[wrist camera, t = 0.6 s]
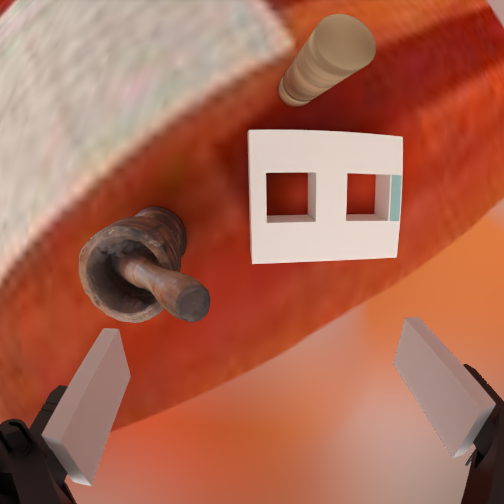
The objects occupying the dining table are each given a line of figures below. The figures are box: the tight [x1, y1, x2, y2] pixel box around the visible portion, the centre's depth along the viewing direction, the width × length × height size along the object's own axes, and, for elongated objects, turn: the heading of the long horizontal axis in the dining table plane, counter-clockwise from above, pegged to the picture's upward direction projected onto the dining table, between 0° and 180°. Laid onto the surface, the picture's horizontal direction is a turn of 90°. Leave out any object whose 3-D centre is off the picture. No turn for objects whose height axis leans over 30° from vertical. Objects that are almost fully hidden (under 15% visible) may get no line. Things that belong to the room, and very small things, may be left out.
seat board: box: [248, 130, 403, 264], centre depth 35 cm, size 14×17×4 cm
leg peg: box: [278, 14, 376, 107], centre depth 24 cm, size 4×4×18 cm
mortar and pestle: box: [79, 207, 210, 323], centre depth 28 cm, size 12×9×20 cm
